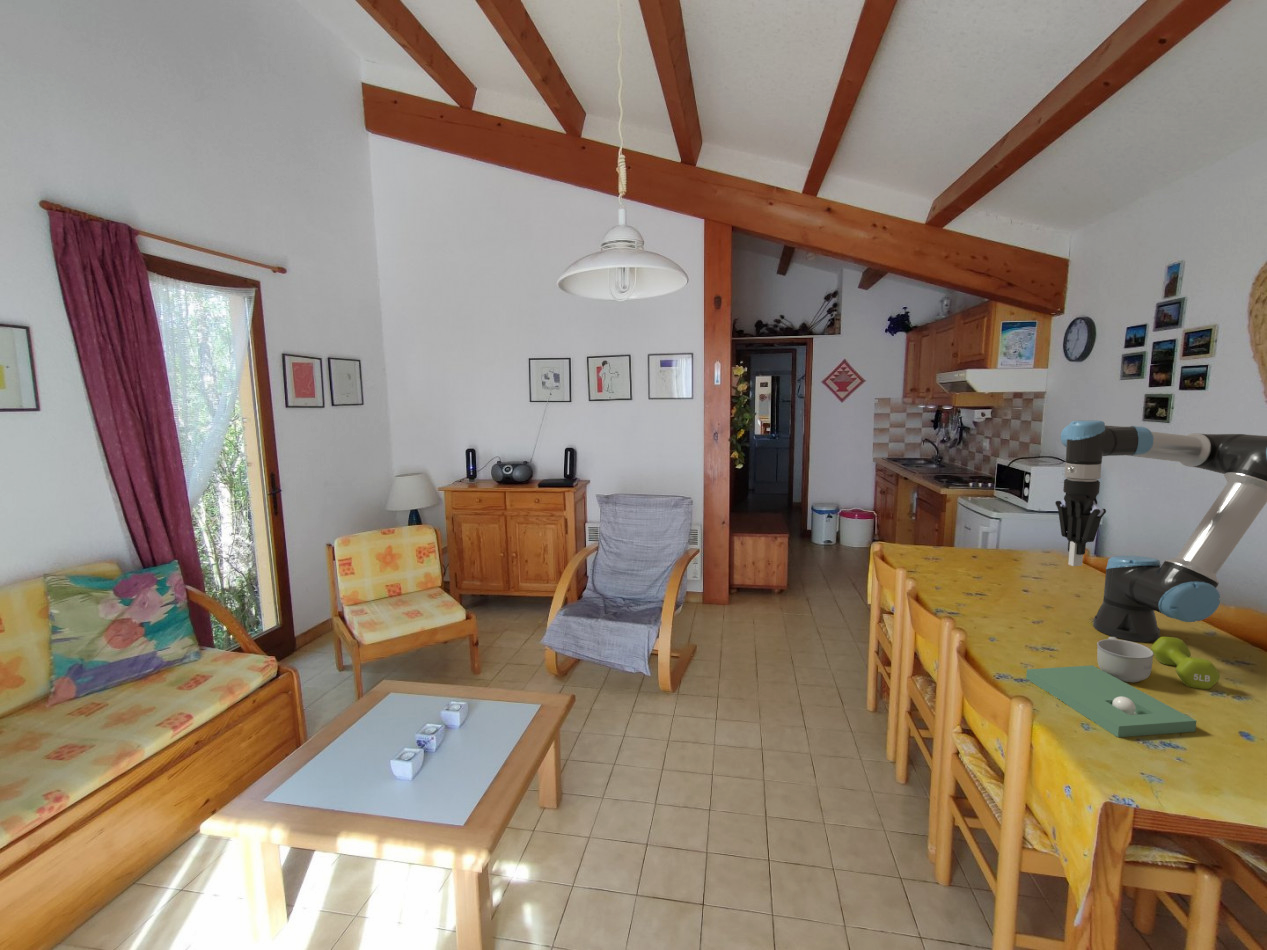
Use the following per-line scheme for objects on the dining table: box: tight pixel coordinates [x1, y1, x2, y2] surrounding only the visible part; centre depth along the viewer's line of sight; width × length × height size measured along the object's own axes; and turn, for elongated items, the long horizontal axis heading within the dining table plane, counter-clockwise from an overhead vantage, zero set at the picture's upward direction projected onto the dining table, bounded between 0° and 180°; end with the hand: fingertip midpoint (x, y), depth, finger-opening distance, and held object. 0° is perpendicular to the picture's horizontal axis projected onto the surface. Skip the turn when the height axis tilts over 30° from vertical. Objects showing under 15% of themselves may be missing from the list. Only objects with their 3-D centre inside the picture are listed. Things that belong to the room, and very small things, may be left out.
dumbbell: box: [1150, 636, 1221, 690], centre depth 146 cm, size 16×8×7 cm, turn 159°
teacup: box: [1096, 636, 1154, 683], centre depth 146 cm, size 14×11×8 cm
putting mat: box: [1025, 665, 1198, 738], centre depth 133 cm, size 18×25×2 cm
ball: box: [1112, 696, 1136, 715], centre depth 128 cm, size 4×4×4 cm
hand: (1075, 565), depth 155 cm, fingers closed
